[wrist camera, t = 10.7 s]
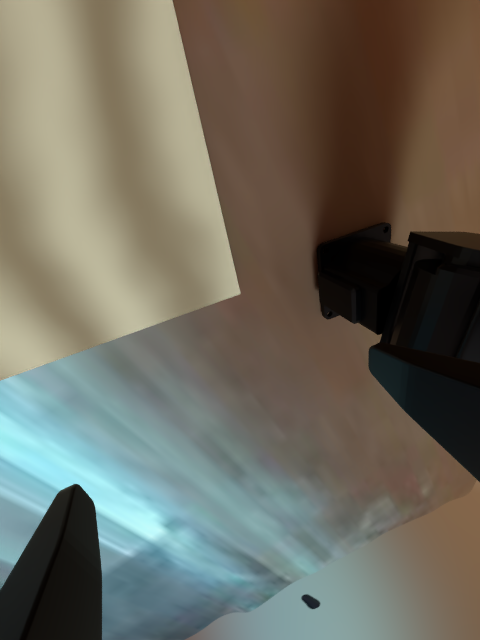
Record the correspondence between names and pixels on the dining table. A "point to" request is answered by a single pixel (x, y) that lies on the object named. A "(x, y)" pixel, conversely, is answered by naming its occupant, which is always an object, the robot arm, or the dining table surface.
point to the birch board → (100, 179)
